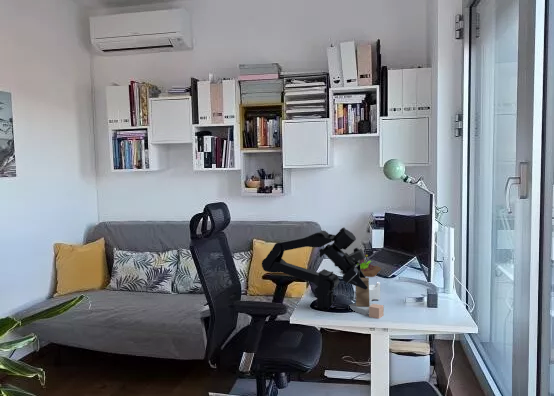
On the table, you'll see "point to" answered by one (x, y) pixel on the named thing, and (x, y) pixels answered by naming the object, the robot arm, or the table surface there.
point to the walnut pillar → (362, 294)
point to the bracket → (374, 291)
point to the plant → (368, 268)
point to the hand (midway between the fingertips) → (367, 285)
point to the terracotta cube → (376, 311)
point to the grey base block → (360, 308)
